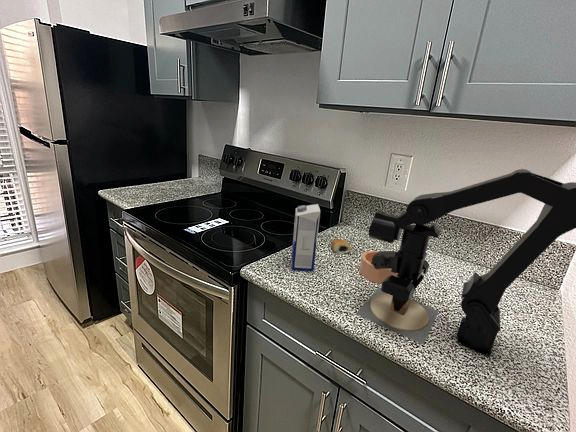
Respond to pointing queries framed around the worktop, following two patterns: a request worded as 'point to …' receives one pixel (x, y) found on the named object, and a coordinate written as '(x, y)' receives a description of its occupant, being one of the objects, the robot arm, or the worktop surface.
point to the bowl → (373, 269)
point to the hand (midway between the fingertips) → (400, 305)
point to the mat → (414, 335)
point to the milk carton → (305, 237)
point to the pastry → (340, 246)
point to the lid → (399, 313)
